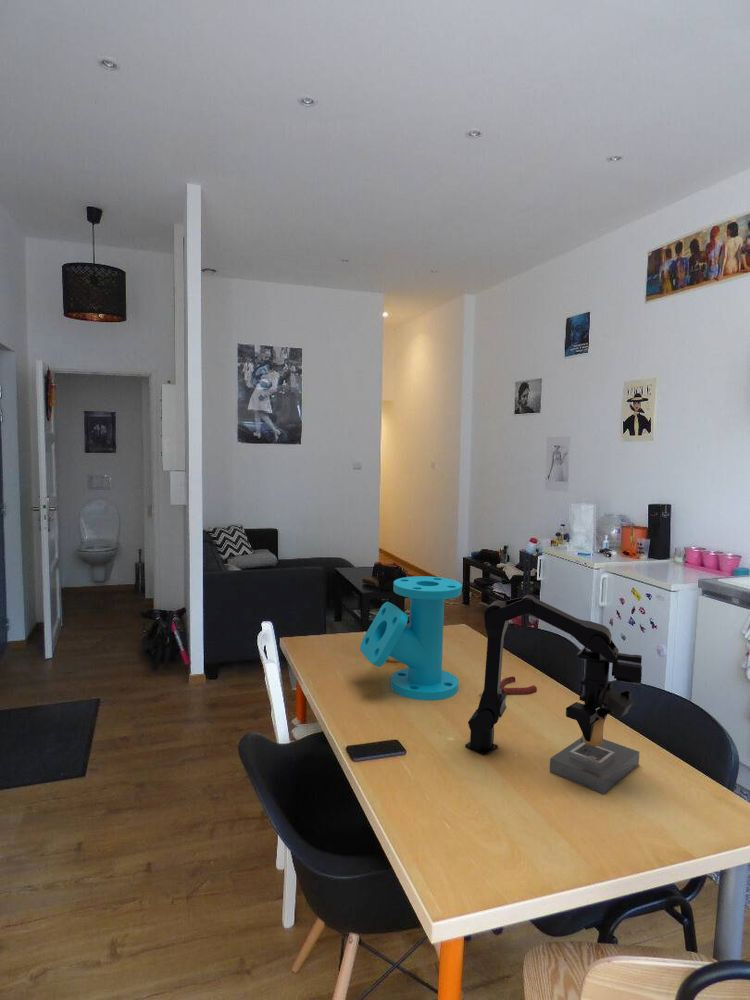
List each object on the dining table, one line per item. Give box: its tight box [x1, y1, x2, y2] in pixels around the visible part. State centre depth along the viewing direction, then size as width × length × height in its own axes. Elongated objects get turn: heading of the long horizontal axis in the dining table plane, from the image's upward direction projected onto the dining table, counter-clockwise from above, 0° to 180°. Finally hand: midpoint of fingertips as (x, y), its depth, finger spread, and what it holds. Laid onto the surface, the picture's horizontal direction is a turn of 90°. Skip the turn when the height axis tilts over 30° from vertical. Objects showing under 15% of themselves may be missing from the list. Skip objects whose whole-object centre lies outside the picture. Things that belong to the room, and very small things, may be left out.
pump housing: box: [581, 714, 605, 746], centre depth 157 cm, size 5×7×7 cm
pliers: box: [478, 676, 538, 697], centre depth 207 cm, size 12×20×3 cm, turn 125°
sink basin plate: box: [549, 734, 640, 795], centre depth 158 cm, size 20×14×5 cm
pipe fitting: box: [359, 575, 463, 701], centre depth 207 cm, size 22×32×35 cm
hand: (592, 737), depth 157 cm, fingers closed on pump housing, 5 cm apart
